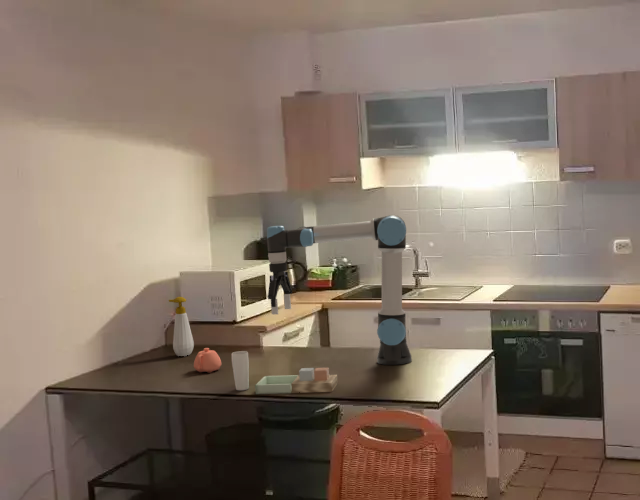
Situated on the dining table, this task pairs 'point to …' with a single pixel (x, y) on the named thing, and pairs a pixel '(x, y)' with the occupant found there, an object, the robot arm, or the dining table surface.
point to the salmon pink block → (321, 374)
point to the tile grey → (306, 374)
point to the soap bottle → (182, 330)
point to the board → (314, 385)
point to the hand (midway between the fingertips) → (281, 311)
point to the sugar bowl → (207, 361)
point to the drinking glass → (241, 369)
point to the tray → (275, 384)
